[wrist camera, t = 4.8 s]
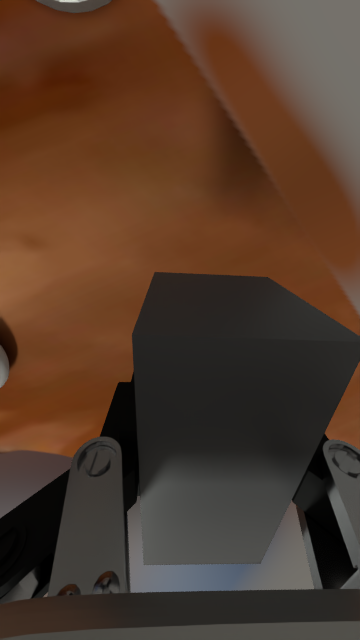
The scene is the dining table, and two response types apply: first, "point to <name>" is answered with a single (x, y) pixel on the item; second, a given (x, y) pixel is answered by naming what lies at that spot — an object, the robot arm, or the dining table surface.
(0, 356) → the flower in vase
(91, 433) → the dining table surface
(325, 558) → the robot arm
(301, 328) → the plug housing
